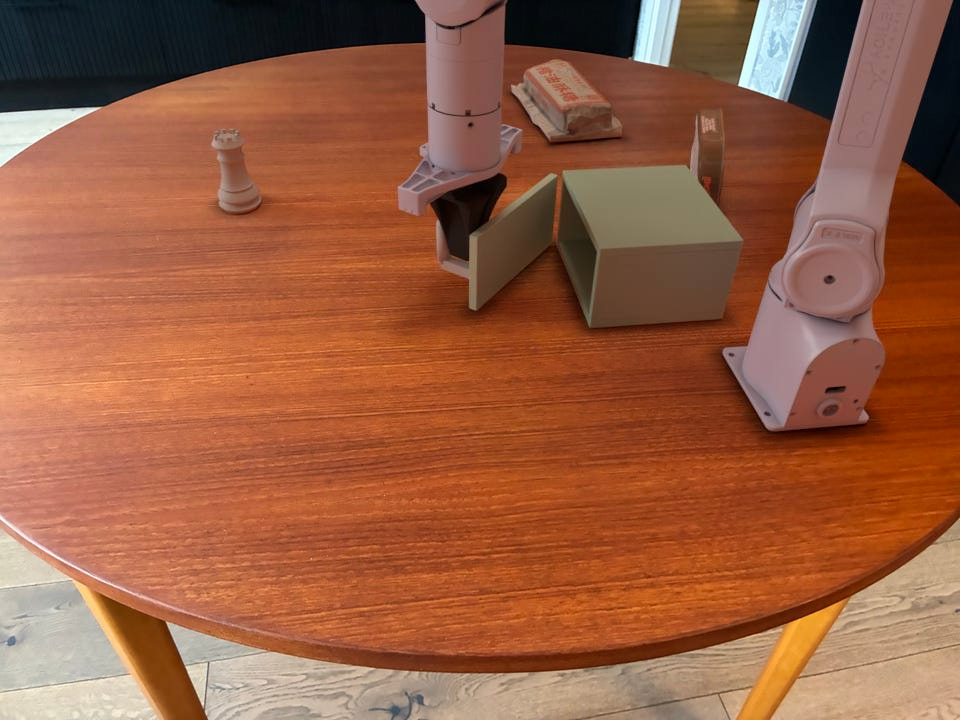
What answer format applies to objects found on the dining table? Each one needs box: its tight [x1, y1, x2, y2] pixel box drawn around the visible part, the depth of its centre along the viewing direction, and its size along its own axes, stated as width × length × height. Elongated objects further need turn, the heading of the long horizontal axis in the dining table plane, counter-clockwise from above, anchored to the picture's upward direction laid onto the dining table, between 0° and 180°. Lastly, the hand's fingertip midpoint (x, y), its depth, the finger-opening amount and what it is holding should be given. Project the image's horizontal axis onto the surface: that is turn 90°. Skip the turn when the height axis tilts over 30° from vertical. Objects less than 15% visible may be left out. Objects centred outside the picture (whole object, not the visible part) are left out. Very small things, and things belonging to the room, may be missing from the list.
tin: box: [689, 107, 726, 207], centre depth 82 cm, size 15×3×8 cm, turn 168°
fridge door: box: [435, 172, 559, 312], centre depth 70 cm, size 5×14×7 cm, turn 147°
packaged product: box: [510, 58, 624, 143], centre depth 100 cm, size 18×5×10 cm
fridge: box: [555, 164, 744, 329], centre depth 69 cm, size 12×14×8 cm
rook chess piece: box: [210, 127, 262, 215], centre depth 79 cm, size 4×4×8 cm
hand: (463, 254), depth 67 cm, fingers closed, pressing on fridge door
